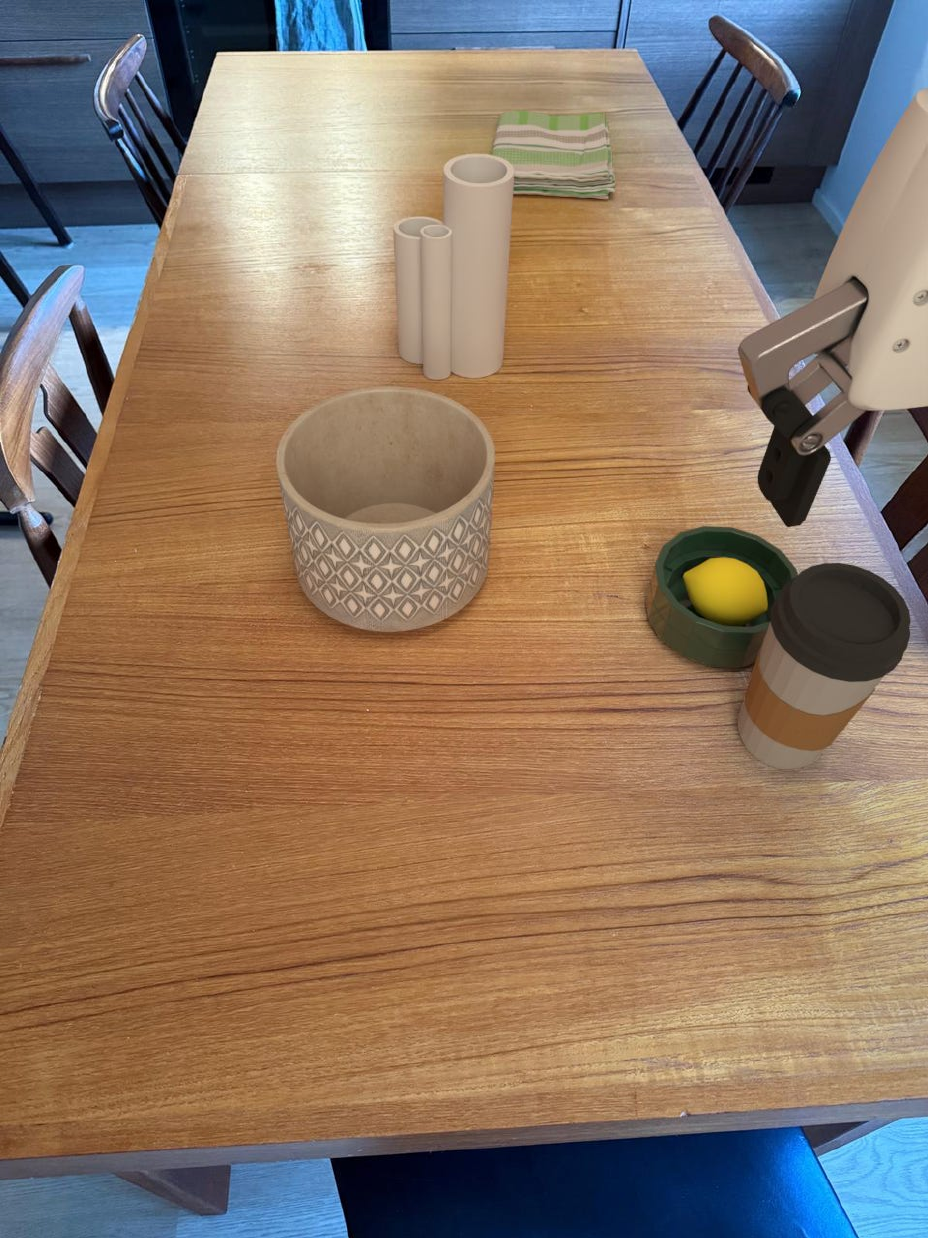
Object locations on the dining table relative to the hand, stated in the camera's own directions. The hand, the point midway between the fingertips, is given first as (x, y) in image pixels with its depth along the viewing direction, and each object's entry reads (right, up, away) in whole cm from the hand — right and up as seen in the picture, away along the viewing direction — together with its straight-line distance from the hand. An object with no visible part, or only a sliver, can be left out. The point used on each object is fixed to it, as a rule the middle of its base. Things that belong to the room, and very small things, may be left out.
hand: (879, 489), depth 40 cm
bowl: (+2, -6, +34) cm, 35 cm away
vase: (-20, +22, +56) cm, 64 cm away
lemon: (+2, -5, +34) cm, 34 cm away
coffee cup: (+5, -15, +27) cm, 31 cm away
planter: (-25, -1, +37) cm, 45 cm away
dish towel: (-6, +59, +87) cm, 106 cm away
